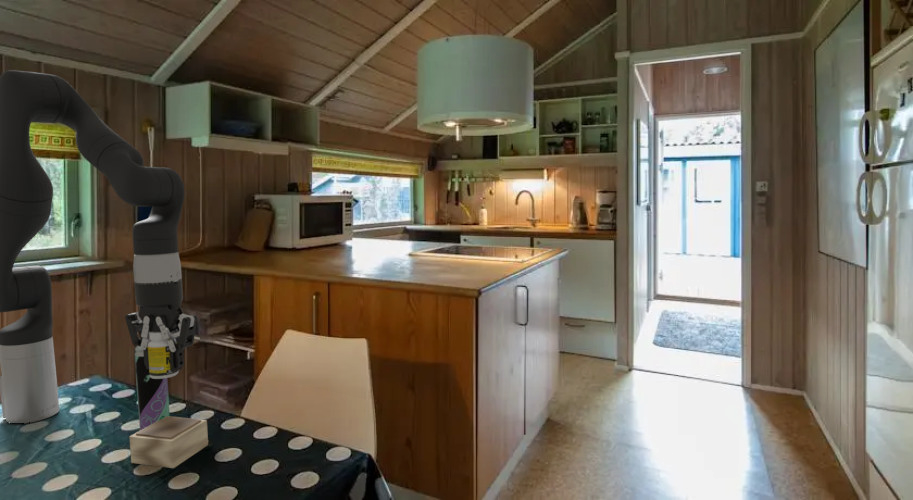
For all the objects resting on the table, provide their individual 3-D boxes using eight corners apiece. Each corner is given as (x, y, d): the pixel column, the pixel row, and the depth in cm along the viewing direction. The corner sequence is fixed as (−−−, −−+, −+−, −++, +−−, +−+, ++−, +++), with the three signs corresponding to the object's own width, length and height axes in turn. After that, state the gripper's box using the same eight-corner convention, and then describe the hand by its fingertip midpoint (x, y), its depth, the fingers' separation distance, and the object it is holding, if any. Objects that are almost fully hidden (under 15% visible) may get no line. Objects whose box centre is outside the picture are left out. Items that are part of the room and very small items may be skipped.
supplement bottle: (169, 379, 95) (166, 333, 94) (144, 379, 95) (140, 334, 94) (184, 370, 100) (181, 327, 99) (159, 370, 100) (156, 327, 99)
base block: (131, 462, 96) (129, 434, 95) (168, 440, 104) (167, 414, 104) (173, 468, 94) (171, 439, 93) (208, 444, 102) (206, 418, 102)
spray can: (147, 437, 105) (140, 340, 103) (135, 430, 109) (128, 336, 107) (175, 428, 110) (169, 334, 108) (163, 421, 113) (156, 330, 111)
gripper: (107, 280, 93) (115, 373, 95) (176, 282, 90) (182, 378, 92) (142, 274, 101) (148, 360, 102) (206, 275, 97) (212, 365, 99)
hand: (164, 368), depth 97 cm, fingers closed on supplement bottle, 4 cm apart
